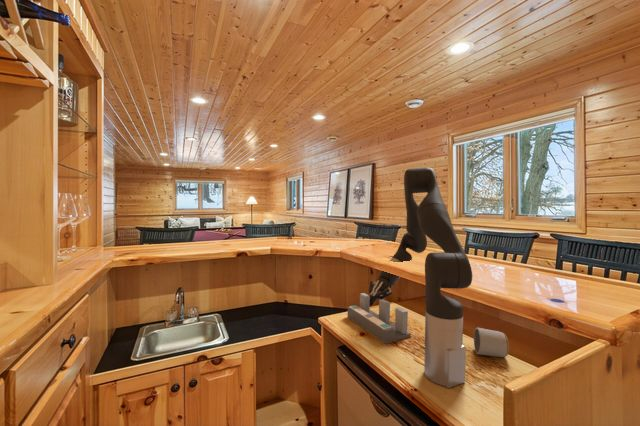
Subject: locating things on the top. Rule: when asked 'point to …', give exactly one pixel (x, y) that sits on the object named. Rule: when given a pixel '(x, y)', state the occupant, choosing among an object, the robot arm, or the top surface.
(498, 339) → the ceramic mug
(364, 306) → the far button
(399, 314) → the grey tall block
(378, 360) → the top surface
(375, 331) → the button console
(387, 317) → the gray upright block
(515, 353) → the top surface
